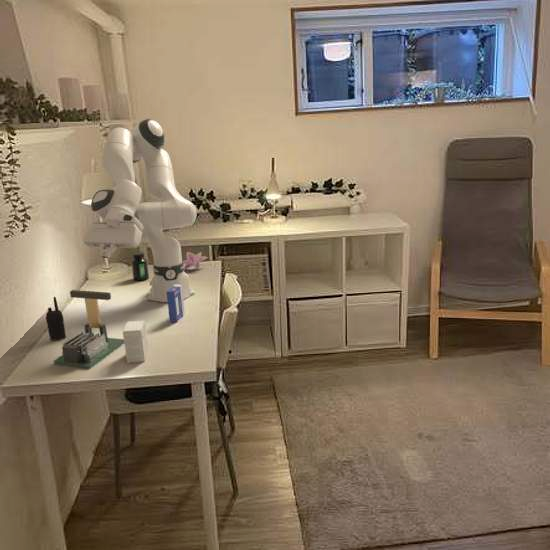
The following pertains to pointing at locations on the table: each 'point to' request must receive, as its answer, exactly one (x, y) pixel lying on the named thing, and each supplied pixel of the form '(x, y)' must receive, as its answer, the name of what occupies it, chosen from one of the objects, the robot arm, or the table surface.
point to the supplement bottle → (139, 267)
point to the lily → (193, 260)
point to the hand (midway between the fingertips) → (104, 257)
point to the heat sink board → (88, 348)
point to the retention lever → (92, 304)
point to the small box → (135, 341)
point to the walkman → (175, 303)
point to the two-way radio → (55, 323)
